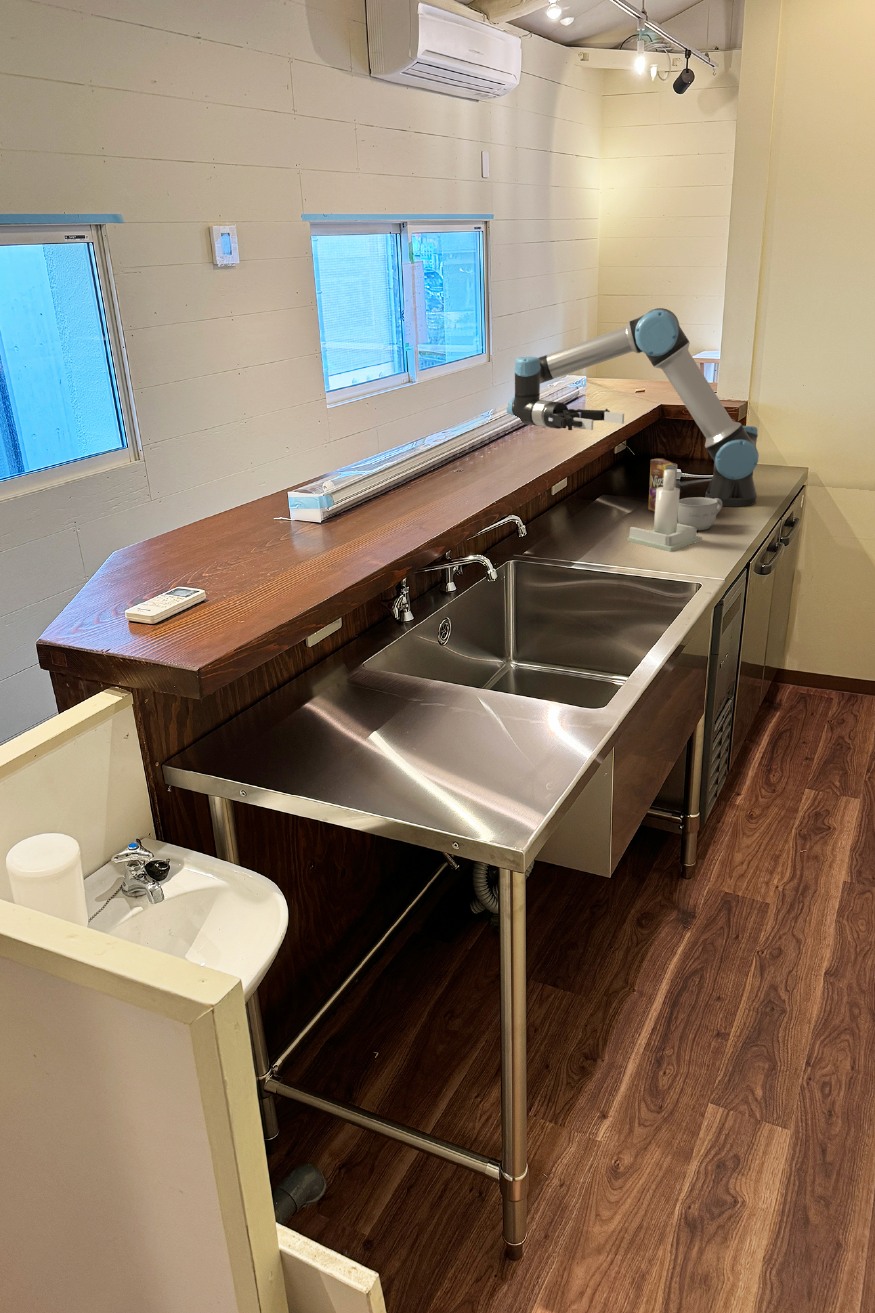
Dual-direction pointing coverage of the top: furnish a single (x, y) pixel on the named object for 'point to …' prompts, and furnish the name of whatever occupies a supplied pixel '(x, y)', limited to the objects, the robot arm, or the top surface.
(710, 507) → the teacup
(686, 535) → the U-rest
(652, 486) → the candy box
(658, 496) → the bottle
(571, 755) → the top surface
